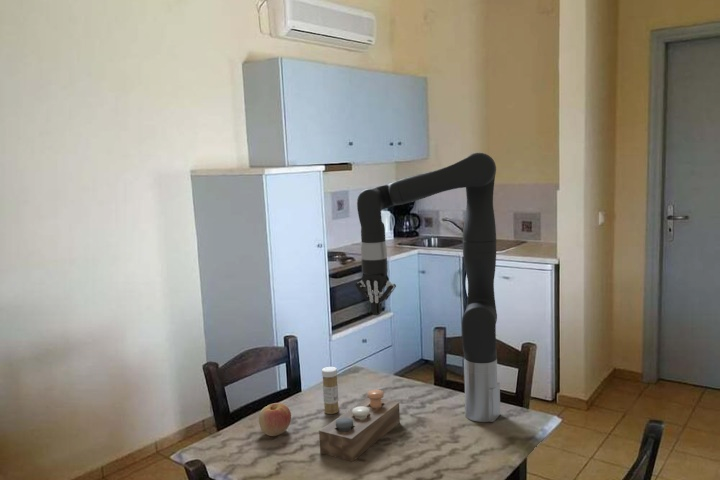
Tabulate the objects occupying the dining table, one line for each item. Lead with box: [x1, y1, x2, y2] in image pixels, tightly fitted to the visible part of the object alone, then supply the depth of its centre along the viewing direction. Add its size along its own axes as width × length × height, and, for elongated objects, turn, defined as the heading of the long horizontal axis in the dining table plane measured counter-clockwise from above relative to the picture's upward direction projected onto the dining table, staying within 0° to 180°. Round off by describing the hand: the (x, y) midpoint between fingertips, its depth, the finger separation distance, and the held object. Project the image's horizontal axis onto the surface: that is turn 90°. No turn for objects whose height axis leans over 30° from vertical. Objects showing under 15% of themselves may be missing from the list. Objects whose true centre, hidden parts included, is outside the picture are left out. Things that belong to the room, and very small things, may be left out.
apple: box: [258, 402, 292, 437], centre depth 166 cm, size 9×9×8 cm
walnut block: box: [318, 397, 401, 462], centre depth 162 cm, size 10×25×6 cm, turn 148°
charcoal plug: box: [336, 418, 353, 432], centre depth 155 cm, size 5×5×7 cm
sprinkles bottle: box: [321, 366, 340, 415], centre depth 179 cm, size 5×5×13 cm
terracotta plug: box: [366, 389, 384, 409], centre depth 168 cm, size 5×5×7 cm
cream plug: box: [352, 406, 369, 420], centre depth 162 cm, size 5×5×7 cm
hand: (376, 314), depth 176 cm, fingers closed
